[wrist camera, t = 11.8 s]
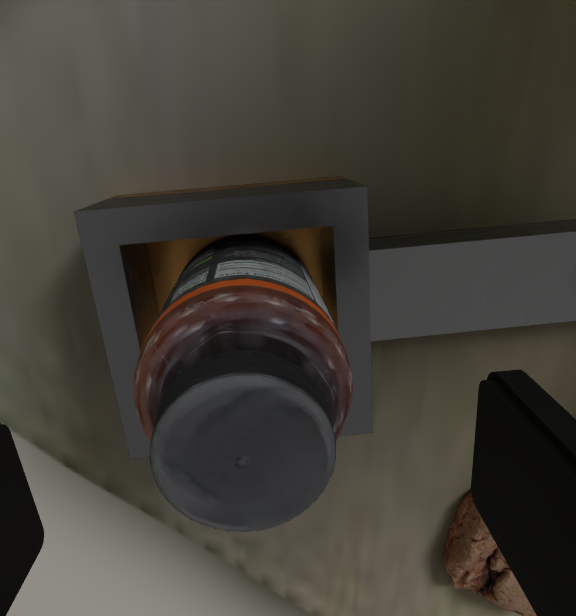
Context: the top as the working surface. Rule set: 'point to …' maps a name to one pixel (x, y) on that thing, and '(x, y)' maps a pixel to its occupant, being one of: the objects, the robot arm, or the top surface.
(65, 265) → the top surface
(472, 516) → the cookie
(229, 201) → the grey long handled piece
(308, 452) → the supplement bottle
